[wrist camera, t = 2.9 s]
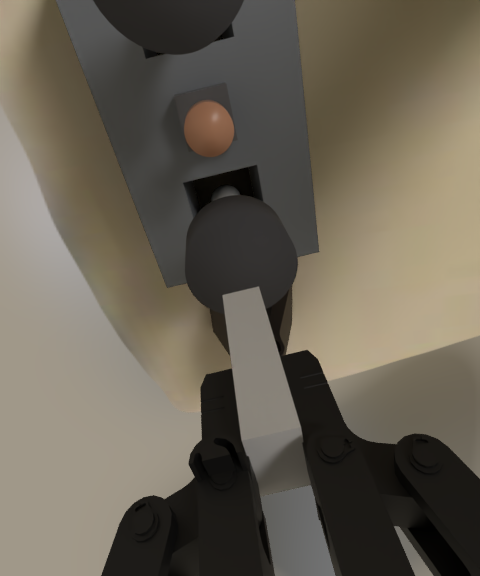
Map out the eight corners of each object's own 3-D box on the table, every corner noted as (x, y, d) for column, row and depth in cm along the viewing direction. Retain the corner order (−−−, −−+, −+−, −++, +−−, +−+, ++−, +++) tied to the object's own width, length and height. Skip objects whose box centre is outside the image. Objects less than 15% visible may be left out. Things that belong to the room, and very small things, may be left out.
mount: (64, -68, 22) (8, -121, 16) (251, -117, 22) (276, -192, 15) (172, 243, 34) (167, 287, 28) (294, 213, 34) (319, 251, 28)
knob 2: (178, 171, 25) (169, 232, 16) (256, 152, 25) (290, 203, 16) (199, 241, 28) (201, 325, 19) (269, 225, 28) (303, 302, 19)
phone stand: (291, 274, 38) (326, 352, 28) (291, 319, 41) (322, 403, 31) (206, 284, 37) (210, 367, 27) (212, 329, 41) (218, 417, 31)
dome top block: (174, 94, 21) (169, 104, 16) (224, 82, 21) (232, 88, 16) (189, 147, 22) (187, 169, 18) (235, 136, 22) (245, 155, 18)
